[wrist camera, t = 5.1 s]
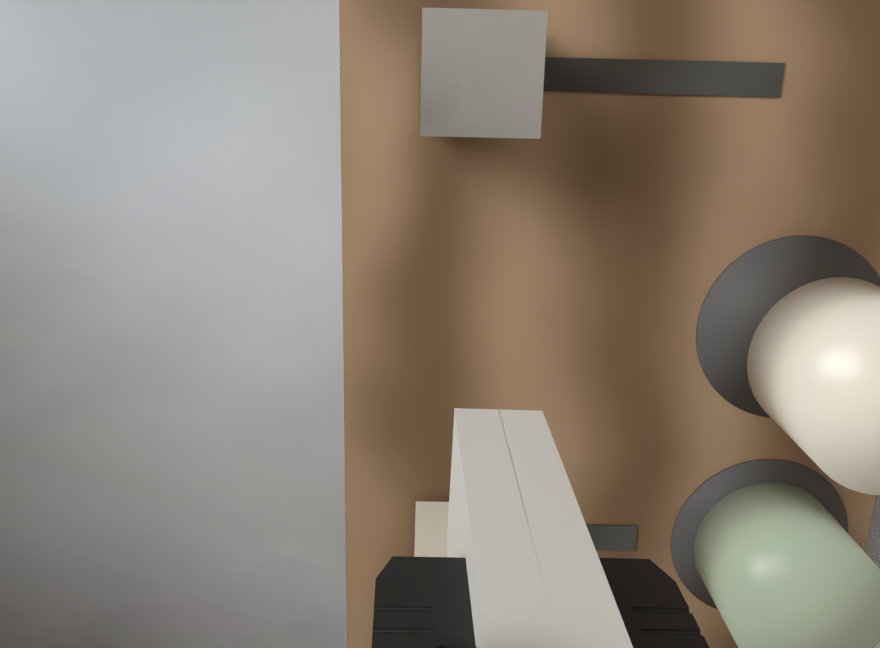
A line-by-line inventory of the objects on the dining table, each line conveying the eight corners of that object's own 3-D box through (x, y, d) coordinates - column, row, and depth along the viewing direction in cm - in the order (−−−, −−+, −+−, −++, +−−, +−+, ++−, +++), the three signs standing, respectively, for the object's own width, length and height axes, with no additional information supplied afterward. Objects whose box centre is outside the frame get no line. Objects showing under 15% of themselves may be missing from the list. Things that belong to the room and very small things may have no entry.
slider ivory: (414, 574, 30) (412, 670, 26) (415, 501, 29) (413, 586, 25) (497, 576, 30) (510, 671, 26) (500, 502, 29) (514, 587, 25)
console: (356, 586, 35) (347, 651, 31) (350, -89, 28) (337, -115, 24) (800, 591, 36) (845, 656, 32) (916, -74, 28) (996, -96, 24)
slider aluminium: (421, 122, 26) (420, 136, 21) (423, 18, 25) (422, 7, 20) (519, 124, 26) (540, 138, 21) (524, 20, 25) (547, 10, 20)
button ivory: (737, 431, 26) (790, 494, 22) (758, 275, 25) (820, 314, 21) (895, 433, 26) (975, 497, 22) (926, 278, 25) (1018, 317, 21)
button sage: (686, 603, 31) (722, 679, 27) (702, 481, 29) (743, 543, 25) (820, 605, 31) (876, 681, 27) (843, 483, 29) (905, 545, 26)
